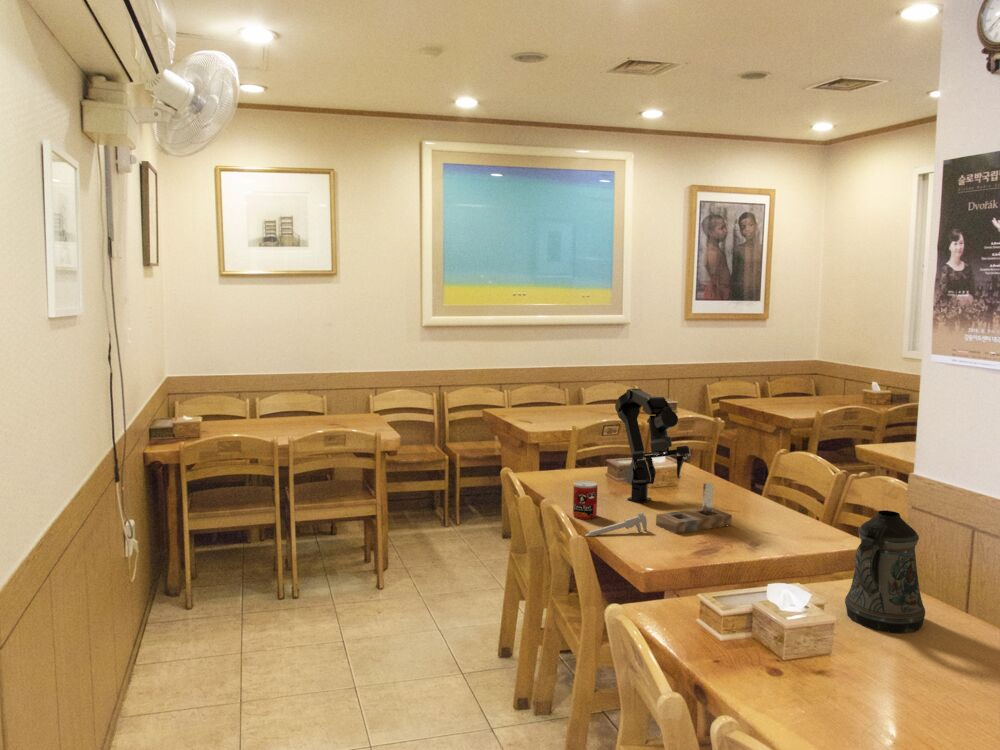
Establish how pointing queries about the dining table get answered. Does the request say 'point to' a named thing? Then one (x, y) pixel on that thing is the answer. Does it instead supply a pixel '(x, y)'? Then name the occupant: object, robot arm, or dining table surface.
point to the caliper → (622, 525)
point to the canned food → (585, 499)
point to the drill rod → (707, 499)
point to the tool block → (692, 520)
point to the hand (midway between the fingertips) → (664, 480)
